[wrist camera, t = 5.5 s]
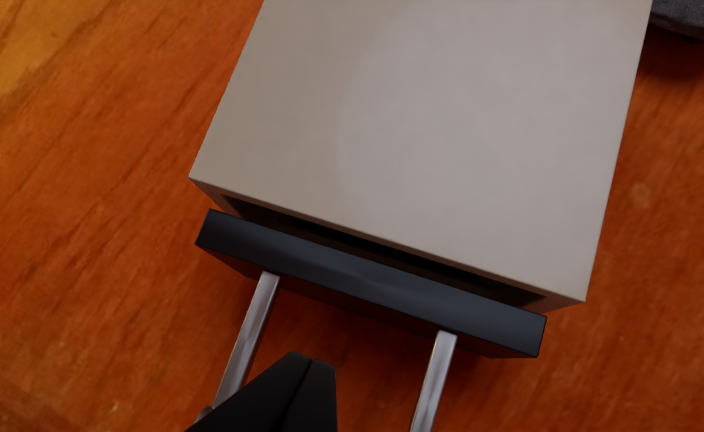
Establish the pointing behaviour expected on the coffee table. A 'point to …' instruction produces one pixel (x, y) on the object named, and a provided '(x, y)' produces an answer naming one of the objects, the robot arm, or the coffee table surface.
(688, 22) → the serving tray
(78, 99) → the coffee table surface
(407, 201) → the grey drawer unit
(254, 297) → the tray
